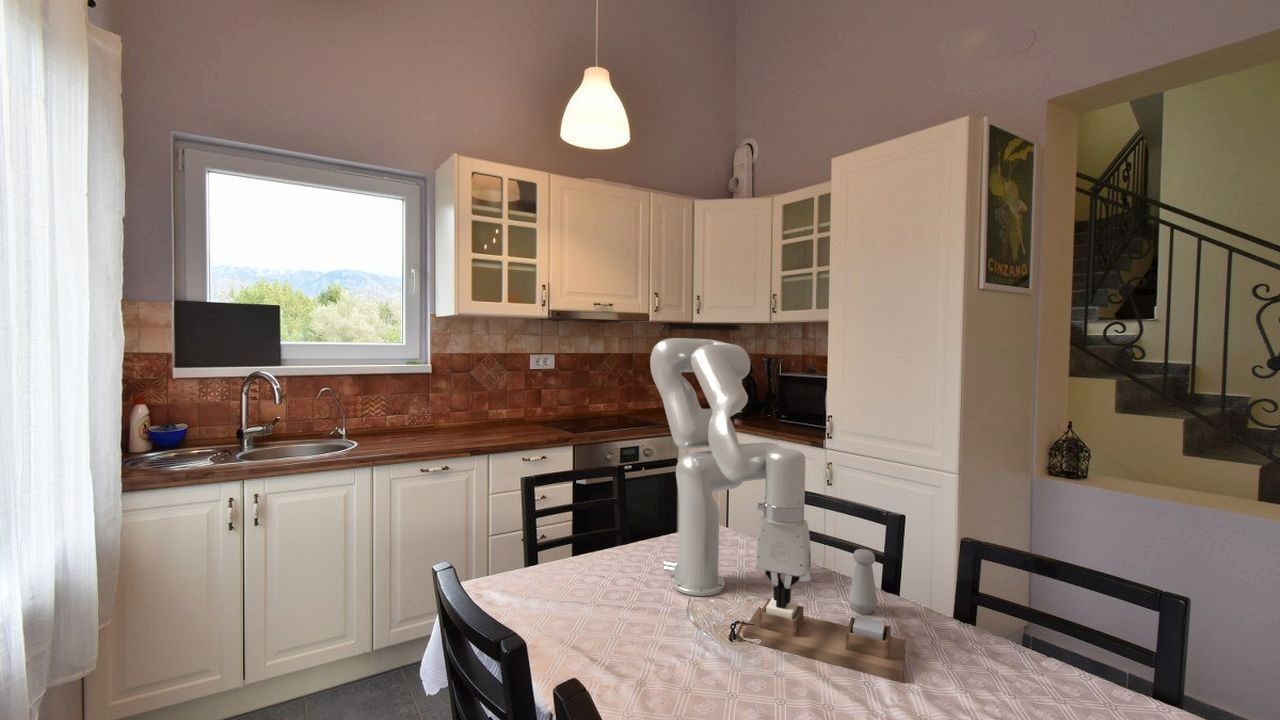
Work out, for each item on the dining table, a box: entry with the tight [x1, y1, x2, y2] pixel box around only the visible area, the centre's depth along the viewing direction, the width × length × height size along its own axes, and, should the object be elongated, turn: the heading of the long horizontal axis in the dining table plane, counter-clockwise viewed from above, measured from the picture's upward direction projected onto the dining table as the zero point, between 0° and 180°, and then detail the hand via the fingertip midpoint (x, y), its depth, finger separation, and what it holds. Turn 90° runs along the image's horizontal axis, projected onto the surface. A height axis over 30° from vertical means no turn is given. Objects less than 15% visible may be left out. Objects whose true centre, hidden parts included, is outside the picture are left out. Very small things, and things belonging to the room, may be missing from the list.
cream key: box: [766, 597, 799, 619], centre depth 112 cm, size 5×5×2 cm
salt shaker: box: [848, 548, 879, 616], centre depth 123 cm, size 6×6×13 cm
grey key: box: [853, 615, 886, 640], centre depth 104 cm, size 5×5×2 cm
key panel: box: [742, 598, 907, 683], centre depth 108 cm, size 28×12×5 cm, turn 62°
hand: (782, 604), depth 112 cm, fingers closed
